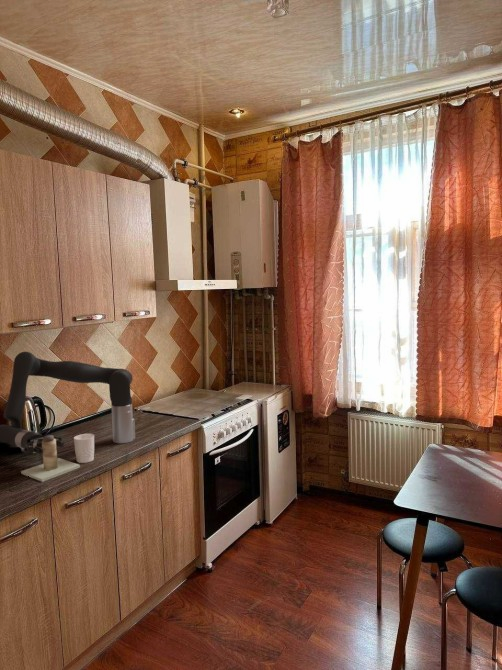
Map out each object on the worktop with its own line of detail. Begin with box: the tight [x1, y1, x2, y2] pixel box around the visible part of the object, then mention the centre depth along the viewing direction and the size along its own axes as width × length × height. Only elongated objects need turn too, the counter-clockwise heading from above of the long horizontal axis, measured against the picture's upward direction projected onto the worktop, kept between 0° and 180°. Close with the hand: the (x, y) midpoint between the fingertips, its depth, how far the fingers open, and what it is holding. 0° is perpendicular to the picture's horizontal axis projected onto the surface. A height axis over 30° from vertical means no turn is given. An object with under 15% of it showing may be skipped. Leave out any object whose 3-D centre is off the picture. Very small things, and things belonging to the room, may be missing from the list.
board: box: [20, 457, 81, 483], centre depth 176 cm, size 16×14×1 cm
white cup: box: [73, 433, 95, 464], centre depth 186 cm, size 8×8×10 cm
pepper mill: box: [42, 434, 58, 470], centre depth 175 cm, size 5×5×12 cm
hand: (52, 447), depth 174 cm, fingers open, 8 cm apart
